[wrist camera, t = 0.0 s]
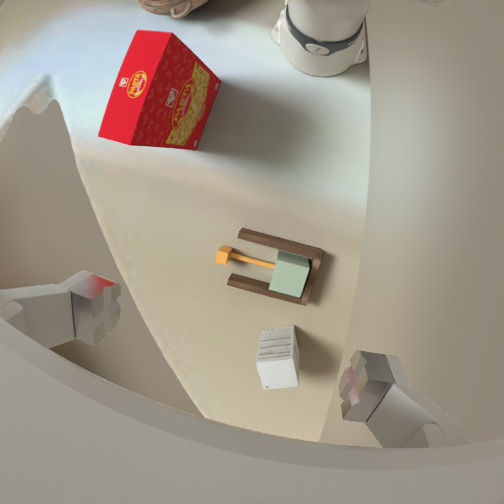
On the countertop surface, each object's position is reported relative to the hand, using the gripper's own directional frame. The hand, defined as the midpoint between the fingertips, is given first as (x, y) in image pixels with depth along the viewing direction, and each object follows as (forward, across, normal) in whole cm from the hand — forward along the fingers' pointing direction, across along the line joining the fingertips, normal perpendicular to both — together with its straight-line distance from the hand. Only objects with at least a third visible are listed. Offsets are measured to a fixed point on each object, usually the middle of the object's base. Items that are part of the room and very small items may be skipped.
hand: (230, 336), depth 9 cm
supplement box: (+48, -8, +31) cm, 58 cm away
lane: (+48, -2, +14) cm, 50 cm away
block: (+48, 0, +14) cm, 50 cm away
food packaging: (+48, +20, -12) cm, 53 cm away
